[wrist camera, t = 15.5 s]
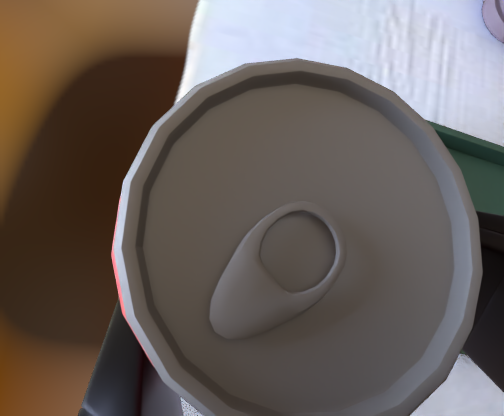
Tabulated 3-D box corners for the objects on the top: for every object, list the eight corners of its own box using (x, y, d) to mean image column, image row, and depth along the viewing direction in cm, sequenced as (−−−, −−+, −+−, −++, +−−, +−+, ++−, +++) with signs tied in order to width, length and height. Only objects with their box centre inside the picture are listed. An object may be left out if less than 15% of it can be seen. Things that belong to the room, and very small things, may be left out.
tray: (510, 360, 25) (543, 370, 23) (368, 330, 23) (388, 338, 21) (517, 169, 29) (546, 161, 27) (395, 128, 27) (414, 115, 25)
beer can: (131, 249, 15) (-63, 197, 3) (231, 169, 17) (327, -40, 5) (218, 351, 15) (317, 647, 3) (310, 261, 17) (581, 254, 5)
